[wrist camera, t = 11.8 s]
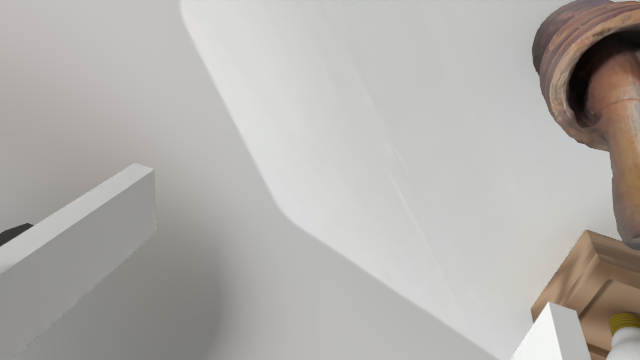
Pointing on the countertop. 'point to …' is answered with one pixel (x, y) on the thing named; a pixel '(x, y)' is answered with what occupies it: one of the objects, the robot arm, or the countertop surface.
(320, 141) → the countertop surface
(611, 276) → the tray
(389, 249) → the countertop surface
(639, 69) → the mortar and pestle
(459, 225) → the countertop surface
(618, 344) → the light bulb
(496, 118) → the countertop surface
